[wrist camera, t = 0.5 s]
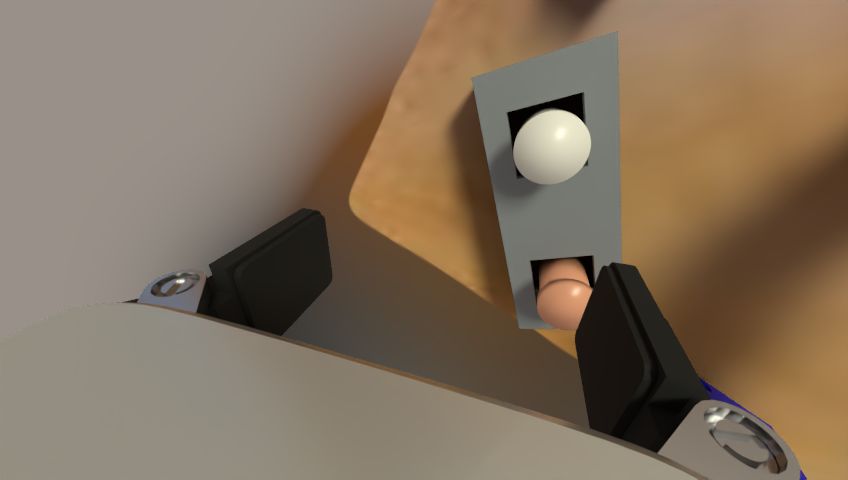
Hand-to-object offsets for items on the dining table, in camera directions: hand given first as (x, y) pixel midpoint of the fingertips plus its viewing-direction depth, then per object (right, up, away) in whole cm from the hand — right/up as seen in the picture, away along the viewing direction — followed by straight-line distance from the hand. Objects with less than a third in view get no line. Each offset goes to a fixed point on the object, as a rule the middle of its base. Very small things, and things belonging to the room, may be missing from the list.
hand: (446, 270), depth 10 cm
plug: (+10, +10, +16) cm, 21 cm away
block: (+13, +6, +22) cm, 26 cm away
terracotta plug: (+14, -2, +21) cm, 25 cm away
